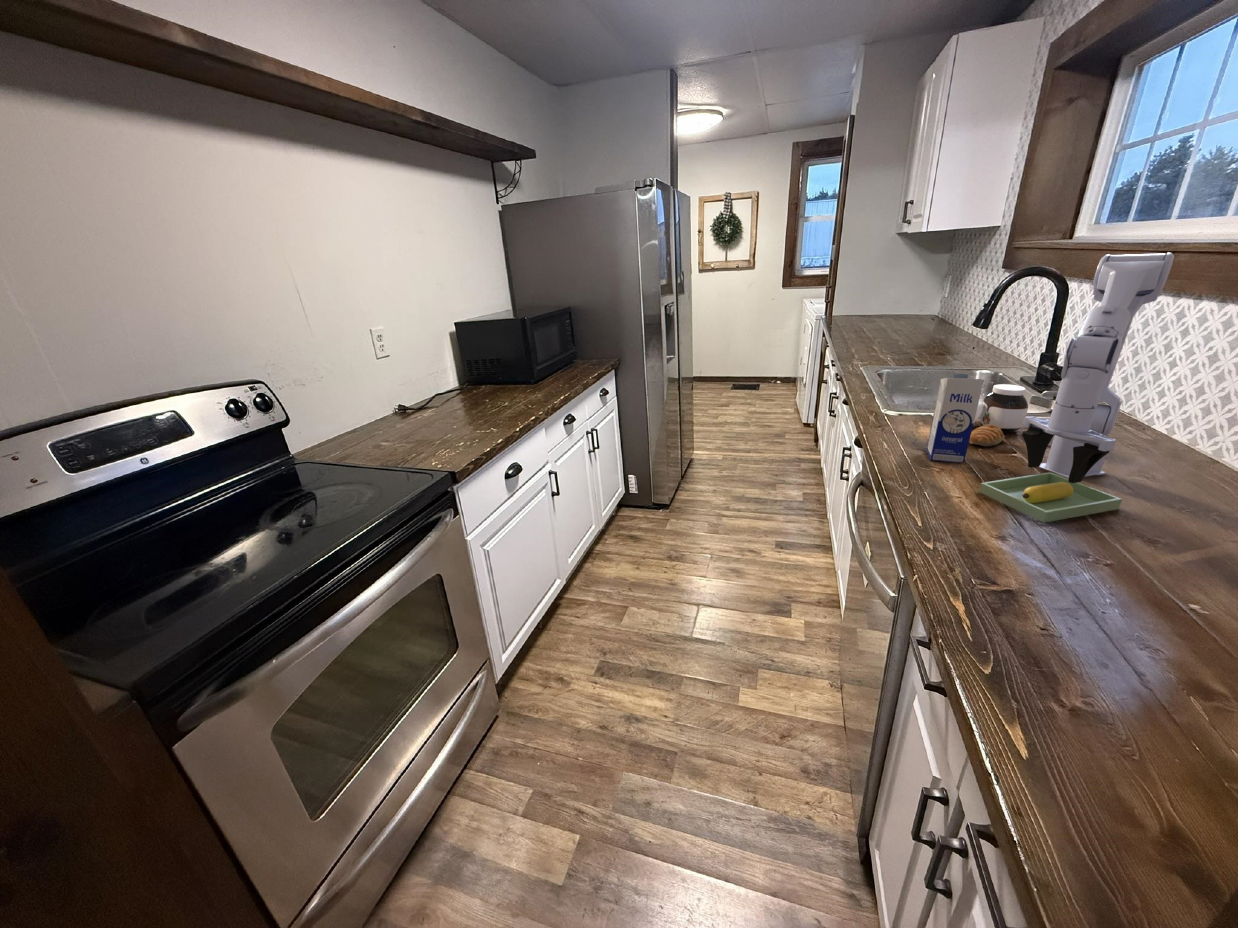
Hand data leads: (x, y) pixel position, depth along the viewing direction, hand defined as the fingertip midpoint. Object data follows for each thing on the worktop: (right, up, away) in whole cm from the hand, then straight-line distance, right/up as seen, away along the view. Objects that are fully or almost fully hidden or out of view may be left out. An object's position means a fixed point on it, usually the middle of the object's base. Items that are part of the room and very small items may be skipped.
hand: (1053, 473), depth 94 cm
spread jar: (+19, +11, +42) cm, 48 cm away
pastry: (+11, +7, +33) cm, 36 cm away
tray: (0, -6, +2) cm, 6 cm away
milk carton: (-4, +3, +25) cm, 26 cm away
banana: (0, -5, +2) cm, 6 cm away
